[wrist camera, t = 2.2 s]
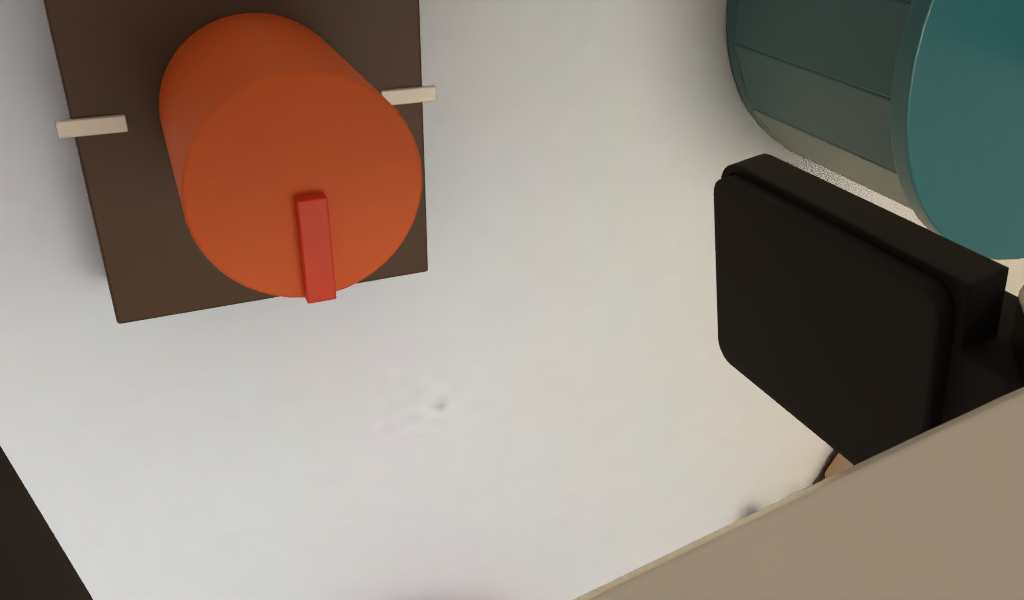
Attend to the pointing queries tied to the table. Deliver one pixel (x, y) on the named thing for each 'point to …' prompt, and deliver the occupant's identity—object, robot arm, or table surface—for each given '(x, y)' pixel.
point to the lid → (963, 121)
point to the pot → (822, 80)
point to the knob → (286, 158)
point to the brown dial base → (142, 147)
